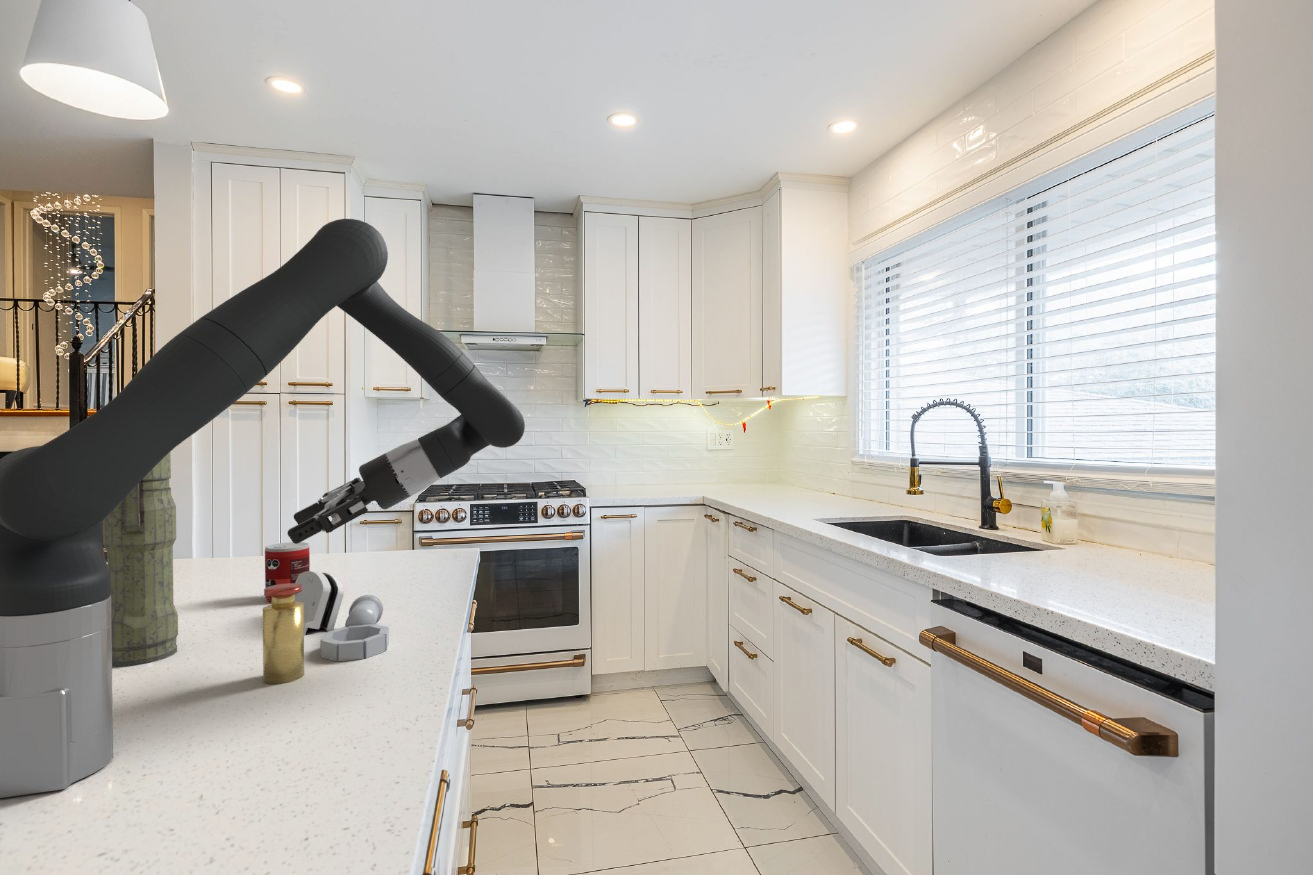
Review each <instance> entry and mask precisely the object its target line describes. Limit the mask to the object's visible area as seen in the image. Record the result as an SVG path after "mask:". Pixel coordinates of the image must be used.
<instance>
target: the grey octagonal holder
mask: <svg viewBox="0 0 1313 875" xmlns="http://www.w3.org/2000/svg"><path fill="white" fill-rule="evenodd" d="M383 612H384V605H383V602H382V601H381V600H380V598H379V597H377V596H375V595H371V594H364V595H361V596H359V597H357V598H356V599H355V600H354V601H353V602H352V604H351V605H350V606H349V610H348V616H347V618H346V620H345V626H342V627H340V628H336V629H333V630H331V631H329V630H328V631H327V632H324V634H323V635H322V637H321V638H320V639H319V640H320V646H319V647H320V650H319V651H320V658H322V659H325V660H329V661H333V662H337V661H338V662H344V661H346V662H347V661H355V660H356V661H357V660H364V659H369V658H371V657H373V656H376V655H378V654H382V653H384V652H386V651H387V650H388V648H389V644H390V630H389V629H390V627H388V626H386V625H380V624H378V622H379V621H380V620H381V618H382V616H383Z"/></svg>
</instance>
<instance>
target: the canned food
mask: <svg viewBox="0 0 1313 875" xmlns="http://www.w3.org/2000/svg"><path fill="white" fill-rule="evenodd" d="M310 566H311V563H310V544H309V543H308V542H303V541H302V542H300V543H298V544H295V543H293V542H292V541H291V542H280V543H274V544H269V545H267V546H265V547H264V582H265V583H264V585H265V586H264V589H265V588H267V587H269V586H273V585H279V584H288V583H295V582H296V580H297V578H298V576H299V574H301V573H303V572H306V571H311V569H310ZM264 596H265V595H264ZM265 599H266V601H267V602H268V603H271V604H272V597H271V596H265Z"/></svg>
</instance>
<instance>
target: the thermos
mask: <svg viewBox="0 0 1313 875" xmlns="http://www.w3.org/2000/svg"><path fill="white" fill-rule="evenodd" d="M171 460H172V459H171V452H169V453H168V454H167V455H166V456H165V457H164V458H163V459H162V460H161V461H160V462H159V463H158V464H157V465H156V466H155V467H154V468H153V469H152V470H151V471H150V472H149V473H148V474H147V475H146V476H145V477H144V478H143V479H142V480H141V481H140V482H139V483H138V484H137V485H136V486H135V488H134V489H133V490H132V491H131V492H130V493H129V494H128V495H127V496H126V497H125V498H124V499H123V500H122V501H121V502H120V504H119V505H118V506H117V507H116V508H115V509H114V510H113V511H112V512H111V513H110V514H109V515H108V516H107V517H106V518H105V519H104V520H103V521H102V542H103V548H104V549H105V551H106V554H107V555H106V557H107V559H106V562H107V565H108V568H109V571H110V574H111V620H112V623H111V632H112V667H132V666H138V665H139V666H140V665H143V664H149V663H153V662H157V661H160V660H165V659H167V658H168V657H169V658H170V657H171V656H173V655H175V654H176V653H177V652H178V645H177V637H178V636H179V614H178V611H177V608H176V606H175V604H174V544H175V542H176V540H177V506H176V504H175V503H176V502H175V501H174V498H173V495H172V487H170V479H171V478H172V476H171V475H172V474H171V473H172V469H171V468H172V467H171V466H172V465H171V464H172V463H171Z"/></svg>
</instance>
